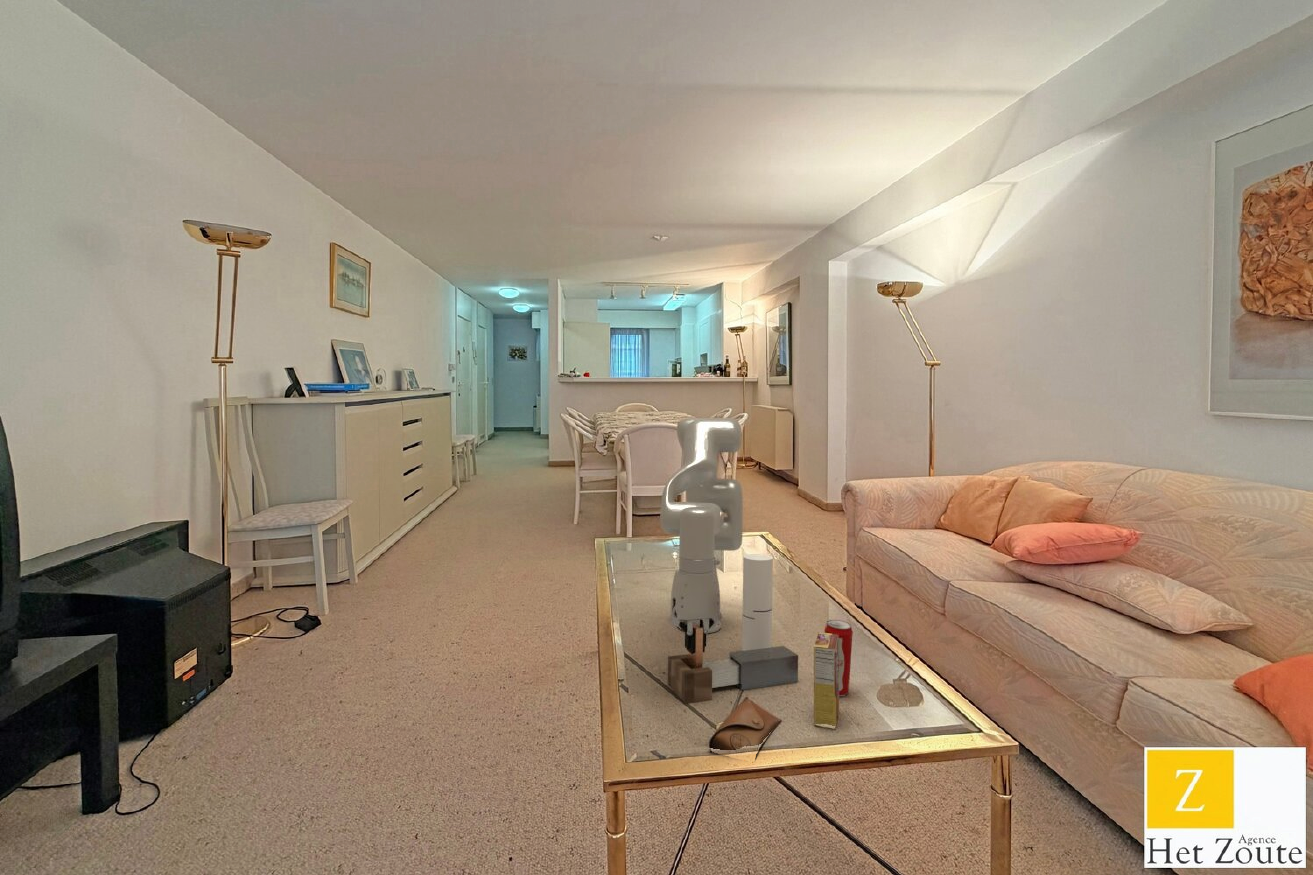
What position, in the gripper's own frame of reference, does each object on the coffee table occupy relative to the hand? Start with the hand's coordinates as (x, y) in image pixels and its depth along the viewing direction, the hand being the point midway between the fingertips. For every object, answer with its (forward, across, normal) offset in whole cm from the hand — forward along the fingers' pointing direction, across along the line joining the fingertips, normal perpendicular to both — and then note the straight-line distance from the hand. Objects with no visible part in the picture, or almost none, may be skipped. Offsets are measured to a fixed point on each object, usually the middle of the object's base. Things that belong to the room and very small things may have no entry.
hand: (695, 650), depth 125 cm
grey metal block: (+9, -17, 0) cm, 19 cm away
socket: (+9, +1, 0) cm, 9 cm away
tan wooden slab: (+8, -6, 0) cm, 10 cm away
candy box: (+9, -20, +19) cm, 29 cm away
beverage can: (+9, -29, +10) cm, 32 cm away
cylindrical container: (+9, -22, -12) cm, 26 cm away
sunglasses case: (+9, -2, +20) cm, 22 cm away
